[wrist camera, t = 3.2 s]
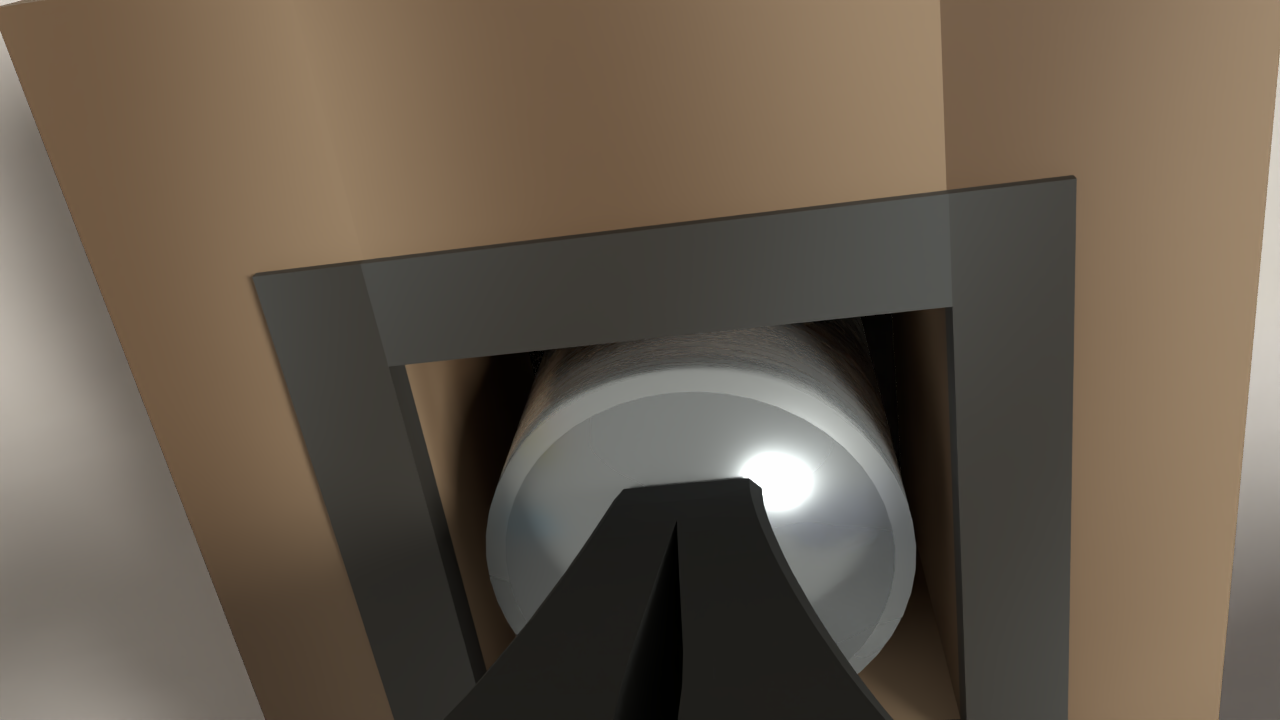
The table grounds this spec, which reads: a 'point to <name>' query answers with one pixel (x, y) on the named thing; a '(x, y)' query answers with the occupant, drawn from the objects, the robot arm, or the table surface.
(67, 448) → the table surface
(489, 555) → the steel peg
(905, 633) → the wooden block
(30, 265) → the table surface
